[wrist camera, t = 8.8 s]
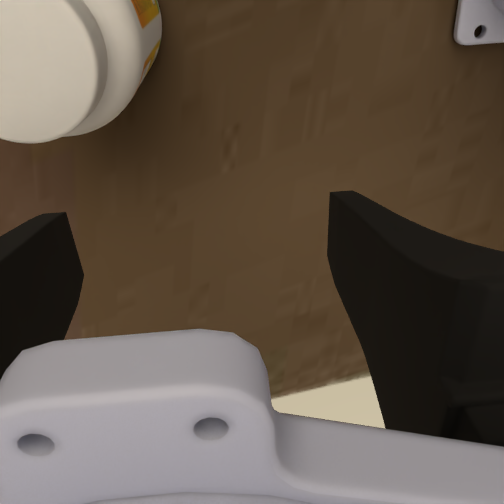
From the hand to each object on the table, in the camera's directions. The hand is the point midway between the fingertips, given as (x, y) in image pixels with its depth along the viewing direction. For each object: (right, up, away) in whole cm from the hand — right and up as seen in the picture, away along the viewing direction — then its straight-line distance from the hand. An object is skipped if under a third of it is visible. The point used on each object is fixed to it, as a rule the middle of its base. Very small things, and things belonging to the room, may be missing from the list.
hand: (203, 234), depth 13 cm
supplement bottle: (-5, +9, +6) cm, 12 cm away
